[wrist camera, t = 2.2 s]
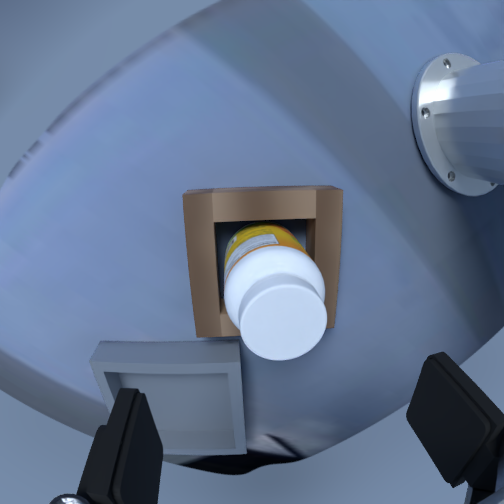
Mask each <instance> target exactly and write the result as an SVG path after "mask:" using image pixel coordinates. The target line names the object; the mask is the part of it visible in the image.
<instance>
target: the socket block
mask: <svg viewBox="0 0 504 504" xmlns="http://www.w3.org/2000/svg"><path fill="white" fill-rule="evenodd" d="M183 210H184V223H185V235H186V246H187V257H188V267H189V277H190V286H191V295H192V304H193V312H194V320H195V328H196V336H197V337H224V336H241V333H240V330H239V329H238V328H237V327H236V326H235V325H234V323H233V322H232V321H231V319H230V317H229V315H228V313H227V310H226V306H225V300H224V299H221V298H220V284H219V270H218V255H217V239H216V222H229V221H251V220H276V219H306V252H307V253H308V255H309V256H310V257H311V259H312V260H313V261H314V263H315V264H316V266H317V267H318V269H319V271H320V272H321V274H322V277H323V280H324V285H325V300H324V305H325V308H326V312H327V325H326V329H327V328H334V324H335V314H336V304H337V293H338V281H339V268H340V253H341V234H342V210H343V190H342V189H339V188H336V187H333V186H267V187H238V188H217V189H199V190H187V191H186V192H185V193H184V194H183Z"/></svg>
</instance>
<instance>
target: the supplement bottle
mask: <svg viewBox="0 0 504 504" xmlns="http://www.w3.org/2000/svg"><path fill="white" fill-rule="evenodd" d="M224 300H225V306H226V310H227V313H228V315H229V317H230V319H231V321H232V322H233V323H234V325H235V326H236V327H237V328H238V329H239V330H240V333H241V336H242V339H243V341H244V343H245V344H246V346H247V347H248V348H249V349H250V350H251V351H252V352H254V353H255V354H256V355H258V356H260V357H263V358H265V359H269V360H289V359H293V358H296V357H299V356H301V355H303V354H305V353H307V352H308V351H310V350H311V349H312V348H313V347H314V346H315V345H316V344H317V343H318V342H319V341H320V339H321V338H322V336H323V334H324V332H325V329H326V325H327V312H326V308H325V305H324V300H325V285H324V280H323V277H322V274H321V272H320V271H319V269H318V267H317V266H316V264H315V263H314V261H313V260H312V259H311V257H310V256H309V255H308V253H307V252H306V251H305V249H304V248H303V247H302V245H301V244H300V243H299V242H298V240H297V239H296V238H295V237H294V235H293V234H292V233H291V232H290V231H289V230H288V229H286V228H285V227H283V226H282V225H280V224H277V223H274V222H269V221H258V222H253V223H250V224H248V225H245V226H244V227H242V228H241V229H239V230H238V231H237V232H236V233H235V234H234V235H233V236H232V238H231V239H230V241H229V243H228V245H227V248H226V252H225V260H224Z"/></svg>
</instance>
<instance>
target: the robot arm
mask: <svg viewBox="0 0 504 504" xmlns="http://www.w3.org/2000/svg"><path fill="white" fill-rule="evenodd" d="M412 121H413V128H414V133H415V137H416V140H417V144H418V147H419V149H420V151H421V154H422V156H423V159H424V161H425V162H426V164H427V165H428V167H429V169H430V171H431V172H432V173H433V174H434V175H435V177H436V178H437V179H438V180H439V181H440V182H441V183H442V184H443V185H445V186H446V187H447V188H448V189H450V190H452V191H454V192H456V193H459V194H463V195H466V196H480V195H485V194H486V193H488V192H490V191H492V190H493V189H494V188H495V187H496V186H497V185H498V184H501V185H504V60H499V61H494V62H489V63H485V64H480V63H479V62H478V61H476V60H474V59H473V58H471V57H469V56H467V55H463V54H459V53H447V54H444V55H440V56H438V57H436V58H434V59H432V60H430V61H429V62H428V63H427V64H426V65H425V66H424V67H423V68H422V70H421V71H420V73H419V75H418V76H417V79H416V82H415V85H414V88H413V95H412ZM406 417H407V421H408V422H409V424H410V426H411V427H412V429H413V430H414V432H415V433H416V435H417V437H418V438H419V440H420V441H421V443H422V444H423V446H424V448H425V449H426V451H427V452H428V454H429V456H430V457H431V459H432V461H433V462H434V464H435V465H436V467H437V468H438V470H439V472H440V474H441V475H442V477H443V478H444V480H445V481H446V482H447V483H450V484H451V486H452V488H454V487H456V486H458V485H460V484H462V483H464V482H465V480H466V481H467V483H468V488H467V493H466V498H465V503H464V504H504V414H503V413H502V412H501V410H500V409H499V408H498V407H497V406H496V405H495V404H494V403H493V402H492V401H491V400H490V399H489V397H487V396H486V394H485V393H484V392H483V391H482V390H481V389H480V388H479V387H478V386H477V385H476V384H475V383H474V382H473V381H472V379H471V378H470V377H469V376H468V375H467V374H466V373H465V372H464V371H463V370H462V369H461V368H460V367H459V366H458V365H457V364H456V363H455V362H454V361H453V360H452V359H451V358H450V357H449V356H448V355H447V354H446V353H444V352H440V353H436V354H432V355H429V356H428V357H427V360H426V361H425V362H424V364H423V367H422V370H421V373H420V376H419V379H418V382H417V385H416V388H415V391H414V394H413V396H412V399H411V402H410V405H409V407H408V410H407V413H406ZM162 460H163V445H162V442H161V439H160V436H159V433H158V431H157V428H156V425H155V422H154V419H153V416H152V413H151V410H150V407H149V404H148V401H147V397H146V395H145V393H140V391H139V389H137V388H120V389H119V391H118V394H117V397H116V400H115V402H114V405H113V408H112V411H111V414H110V417H109V420H108V423H107V425H101V426H100V427H99V428H98V430H97V432H96V435H95V438H94V441H93V444H92V446H91V449H90V452H89V455H88V459H87V462H86V465H85V468H84V471H83V474H82V477H81V481H80V484H79V487H78V491H77V494H62V495H59V496H57V497H55V498H54V499H53V500H52V501H51V502H50V503H49V504H157V503H158V494H159V485H160V476H161V468H162Z"/></svg>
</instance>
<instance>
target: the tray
mask: <svg viewBox="0 0 504 504" xmlns="http://www.w3.org/2000/svg"><path fill="white" fill-rule="evenodd" d="M89 362H90V365H91V368H92V370H93V373H94V376H95V378H96V381H97V383H98V386H99V389H100V391H101V394H102V396H103V398H104V401H105V403H106V406H107V408H108V410H109V413H110V414H111V411H112V408H113V405H114V402H115V400H116V397H117V394H118V391H119V389H120V388H137V389H139V391H140V393H145V395H146V397H147V401H148V404H149V407H150V410H151V413H152V416H153V419H154V422H155V425H156V428H157V431H158V433H159V436H160V439H161V442H162V445H163V454H175V455H231V454H247V451H246V437H245V423H244V409H243V394H242V379H241V363H240V349H239V340H221V341H191V342H120V341H100V343H99V345H98V346H97V348H96V350H95V352H94V353H93V355H92V357H91V359H90V360H89Z"/></svg>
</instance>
